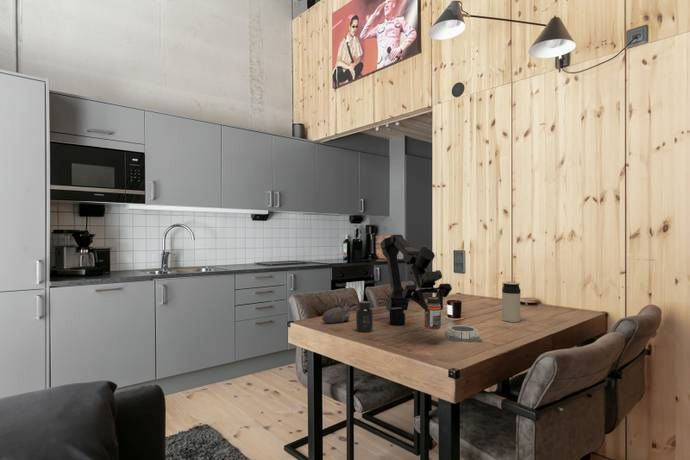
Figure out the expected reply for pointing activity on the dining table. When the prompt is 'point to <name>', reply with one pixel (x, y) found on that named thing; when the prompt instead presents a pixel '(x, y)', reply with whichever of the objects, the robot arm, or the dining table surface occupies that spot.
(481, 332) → the dining table surface
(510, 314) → the travel mug
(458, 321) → the dining table surface
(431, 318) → the supplement bottle
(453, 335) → the collar
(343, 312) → the perforated stone tool
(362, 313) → the supplement bottle
